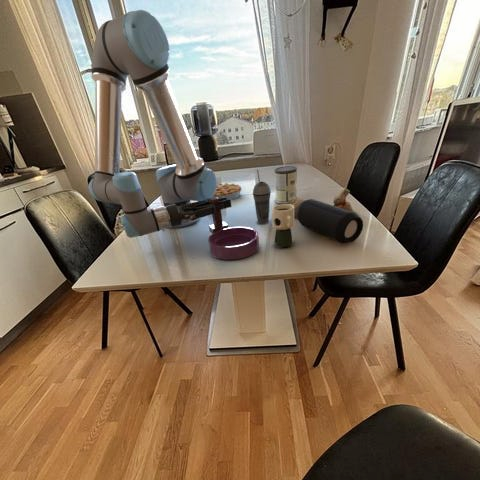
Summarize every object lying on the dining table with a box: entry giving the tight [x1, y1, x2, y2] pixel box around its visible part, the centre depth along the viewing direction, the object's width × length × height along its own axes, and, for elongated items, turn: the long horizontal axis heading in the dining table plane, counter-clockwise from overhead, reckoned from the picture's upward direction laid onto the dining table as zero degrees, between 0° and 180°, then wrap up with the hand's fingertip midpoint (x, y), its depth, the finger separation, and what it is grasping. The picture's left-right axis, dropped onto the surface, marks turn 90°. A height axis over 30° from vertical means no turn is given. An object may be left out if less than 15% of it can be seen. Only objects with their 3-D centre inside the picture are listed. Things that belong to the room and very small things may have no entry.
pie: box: [213, 182, 243, 201], centre depth 153 cm, size 22×22×5 cm
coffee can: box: [274, 165, 298, 204], centre depth 134 cm, size 10×10×14 cm
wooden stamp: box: [208, 197, 230, 235], centre depth 106 cm, size 6×4×12 cm
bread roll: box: [290, 198, 306, 219], centre depth 119 cm, size 10×10×8 cm
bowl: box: [208, 226, 260, 261], centre depth 98 cm, size 17×17×5 cm
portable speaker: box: [296, 198, 364, 244], centre depth 100 cm, size 26×10×10 cm, turn 27°
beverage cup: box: [252, 169, 272, 225], centre depth 112 cm, size 7×7×20 cm
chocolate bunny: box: [332, 187, 353, 212], centre depth 115 cm, size 6×8×10 cm
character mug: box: [271, 203, 295, 248], centre depth 95 cm, size 11×7×13 cm, turn 19°
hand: (228, 201), depth 105 cm, fingers closed on wooden stamp, 3 cm apart
